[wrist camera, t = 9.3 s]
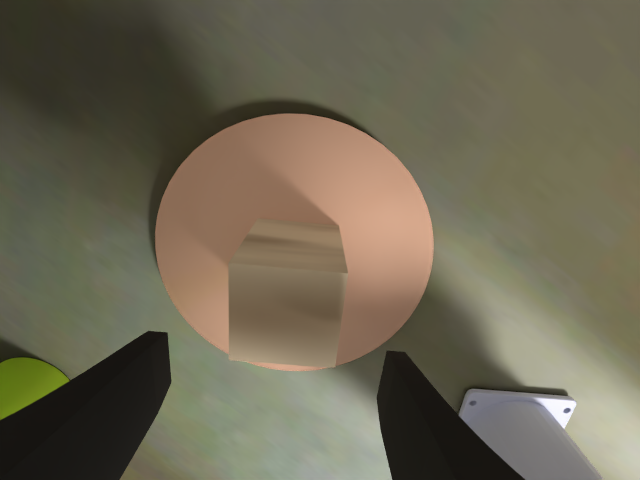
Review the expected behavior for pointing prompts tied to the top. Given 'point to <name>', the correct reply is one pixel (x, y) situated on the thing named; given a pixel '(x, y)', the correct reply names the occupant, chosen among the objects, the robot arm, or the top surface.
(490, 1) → the top surface
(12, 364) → the soap dispenser
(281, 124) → the terracotta plate
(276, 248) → the birch block
